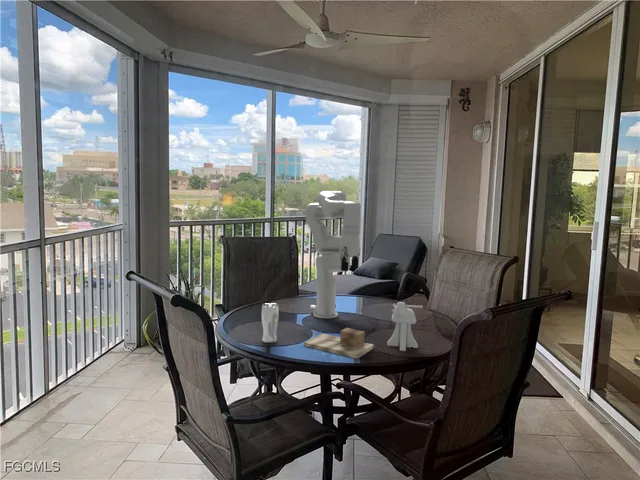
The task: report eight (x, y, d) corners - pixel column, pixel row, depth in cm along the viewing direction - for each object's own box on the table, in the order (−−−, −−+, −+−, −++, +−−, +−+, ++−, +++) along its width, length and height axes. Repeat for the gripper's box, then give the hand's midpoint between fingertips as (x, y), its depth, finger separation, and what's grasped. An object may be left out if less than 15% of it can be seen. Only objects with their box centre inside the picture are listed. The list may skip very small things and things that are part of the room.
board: (304, 345, 176) (304, 341, 176) (322, 336, 188) (322, 333, 188) (357, 358, 164) (357, 354, 164) (373, 348, 176) (373, 344, 176)
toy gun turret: (421, 352, 173) (423, 307, 171) (387, 349, 175) (389, 305, 173) (419, 342, 185) (421, 300, 183) (387, 340, 187) (389, 298, 185)
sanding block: (339, 345, 173) (340, 330, 172) (345, 342, 177) (346, 327, 176) (358, 350, 169) (359, 335, 168) (363, 346, 173) (364, 331, 172)
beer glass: (271, 344, 177) (271, 307, 175) (257, 341, 180) (258, 305, 179) (281, 340, 183) (282, 304, 181) (268, 336, 186) (268, 302, 185)
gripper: (352, 229, 200) (351, 266, 202) (333, 231, 185) (332, 271, 187) (367, 230, 196) (366, 268, 198) (349, 232, 182) (348, 273, 183)
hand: (349, 269), depth 193 cm, fingers open, 9 cm apart
